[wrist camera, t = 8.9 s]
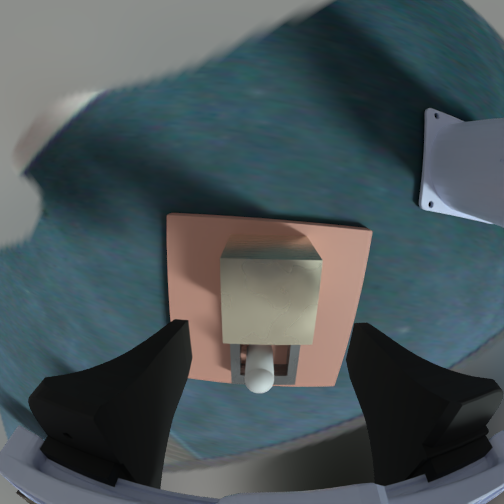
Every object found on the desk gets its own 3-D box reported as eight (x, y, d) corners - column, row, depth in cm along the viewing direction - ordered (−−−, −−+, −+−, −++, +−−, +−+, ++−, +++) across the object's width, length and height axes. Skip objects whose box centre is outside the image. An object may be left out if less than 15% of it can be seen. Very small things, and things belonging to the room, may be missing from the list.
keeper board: (367, 228, 19) (401, 249, 14) (332, 378, 23) (344, 422, 18) (171, 212, 19) (139, 229, 14) (178, 369, 23) (162, 412, 18)
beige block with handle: (230, 234, 18) (219, 258, 14) (306, 235, 18) (322, 260, 13) (233, 371, 22) (227, 416, 17) (293, 372, 22) (299, 416, 17)
